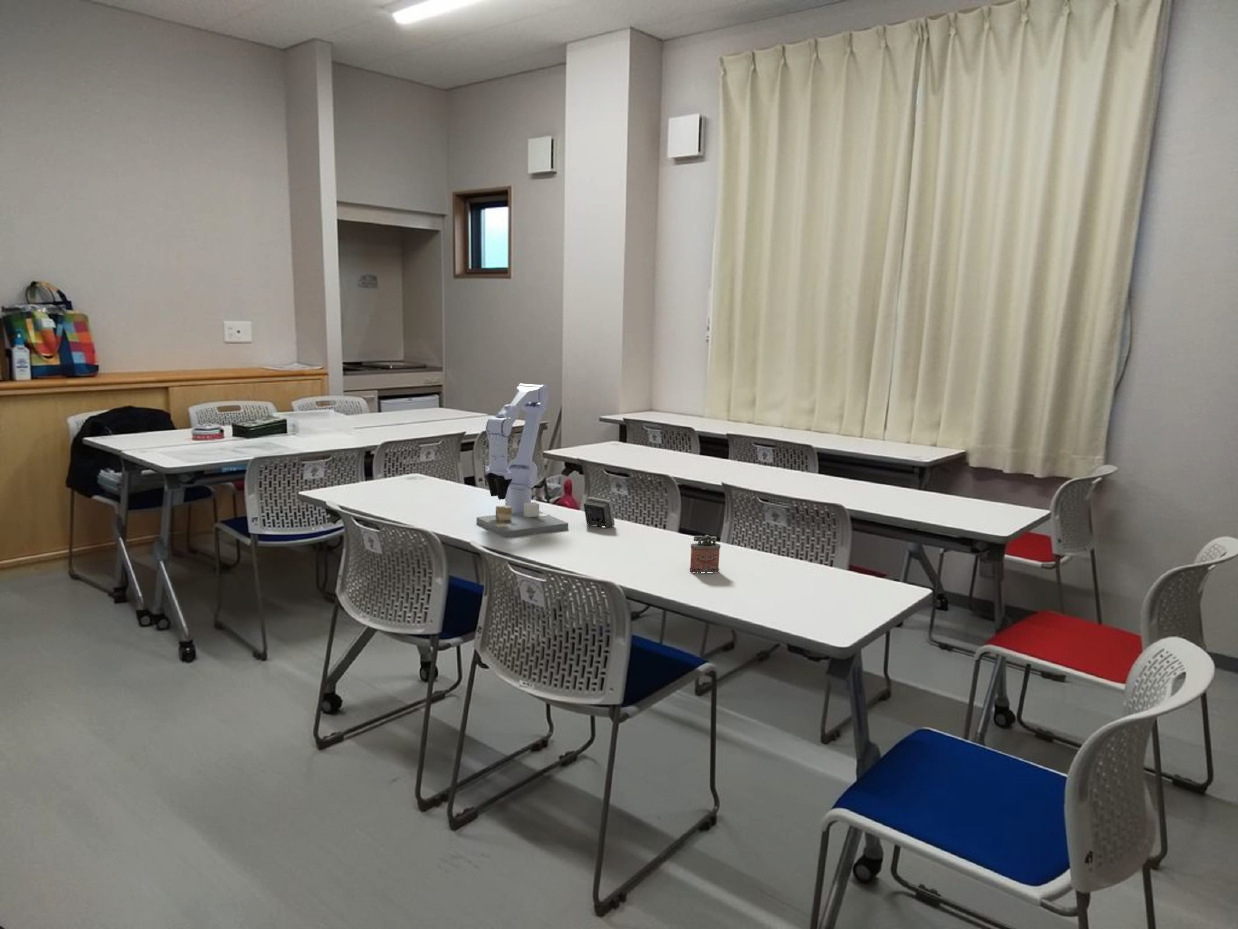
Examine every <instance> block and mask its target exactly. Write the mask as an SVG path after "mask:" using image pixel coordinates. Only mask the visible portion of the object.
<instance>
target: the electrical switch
mask: <svg viewBox="0 0 1238 929" xmlns="http://www.w3.org/2000/svg"><path fill="white" fill-rule="evenodd" d="M585 499H586V501H585V502H584V503H583V509H584V514H585V515H584V516H585V521H586V525H587V524H588V525H587V526H591V525H599V526H605V527H606V528H605V529H607V528H610V526H613V527H615V517H614V510H613V503H612V500H609V499H604V498H597V497H592V496H588V497H587V498H585Z"/></svg>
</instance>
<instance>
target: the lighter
mask: <svg viewBox="0 0 1238 929" xmlns="http://www.w3.org/2000/svg"><path fill="white" fill-rule="evenodd" d="M693 541H694V542H695V543H691V544H690V566H689V570H690V572H696V573H697V572H698V573H701V572H705V573H707V572H718V571H719V572H720V568H719V566H720V551H721V550H720V549H721V544H720V543H717V536H714V535H713V536H710V535H709V534H705V535H704V536H703V535H694V536H693ZM690 572H689V573H690Z"/></svg>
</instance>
